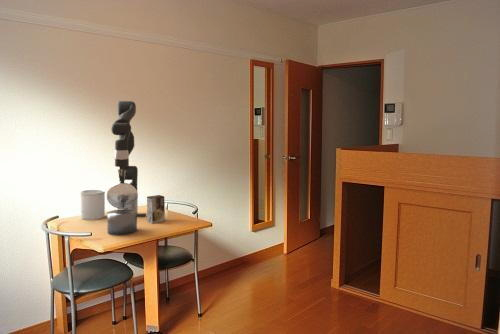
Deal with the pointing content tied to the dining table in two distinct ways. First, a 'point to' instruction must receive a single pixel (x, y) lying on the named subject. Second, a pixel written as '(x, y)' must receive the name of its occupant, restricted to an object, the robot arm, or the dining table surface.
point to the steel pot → (122, 221)
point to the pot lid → (122, 195)
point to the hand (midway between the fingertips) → (122, 188)
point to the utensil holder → (92, 204)
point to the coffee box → (155, 209)
